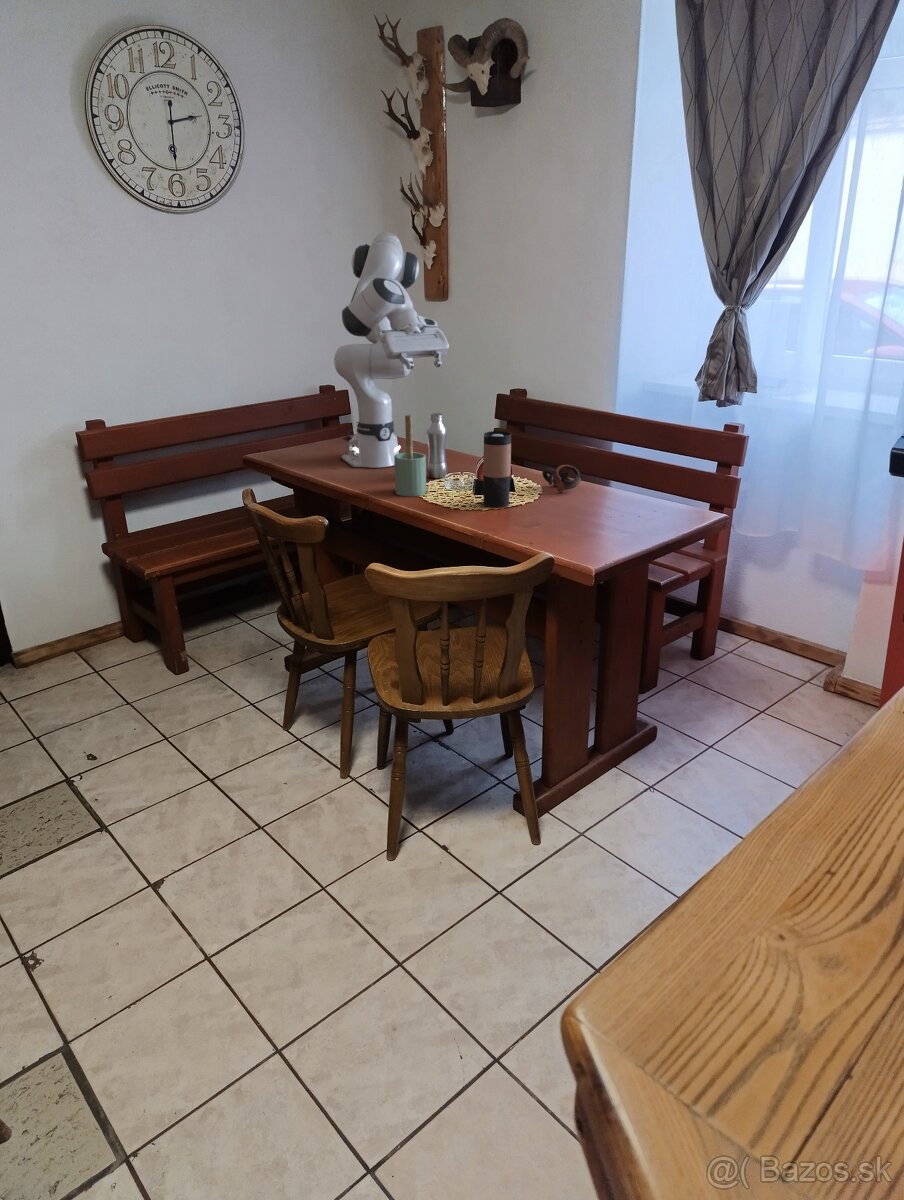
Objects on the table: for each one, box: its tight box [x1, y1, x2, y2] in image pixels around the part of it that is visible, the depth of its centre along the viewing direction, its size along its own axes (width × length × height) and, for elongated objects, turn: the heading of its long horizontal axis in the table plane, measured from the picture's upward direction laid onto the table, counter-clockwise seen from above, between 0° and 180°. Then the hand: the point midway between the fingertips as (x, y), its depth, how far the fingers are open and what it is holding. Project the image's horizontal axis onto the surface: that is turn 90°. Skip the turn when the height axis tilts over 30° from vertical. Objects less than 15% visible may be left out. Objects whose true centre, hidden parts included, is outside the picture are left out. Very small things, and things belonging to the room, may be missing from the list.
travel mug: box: [482, 430, 512, 509], centre depth 226 cm, size 8×8×20 cm
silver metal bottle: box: [426, 412, 448, 479], centre depth 255 cm, size 6×7×20 cm
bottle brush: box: [404, 414, 414, 459], centre depth 238 cm, size 5×5×22 cm
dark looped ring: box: [541, 464, 582, 494], centre depth 244 cm, size 12×10×8 cm
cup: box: [393, 451, 427, 497], centre depth 240 cm, size 9×9×11 cm
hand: (425, 366), depth 236 cm, fingers open, 8 cm apart
